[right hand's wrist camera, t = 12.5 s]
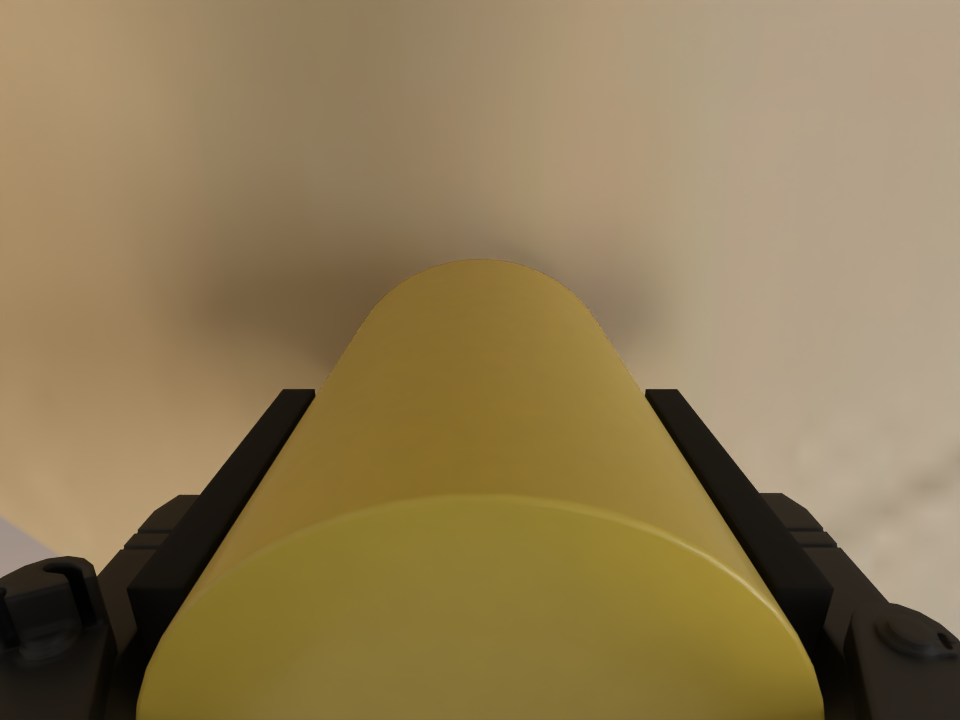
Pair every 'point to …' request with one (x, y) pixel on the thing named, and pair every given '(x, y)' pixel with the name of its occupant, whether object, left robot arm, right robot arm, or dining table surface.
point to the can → (480, 541)
